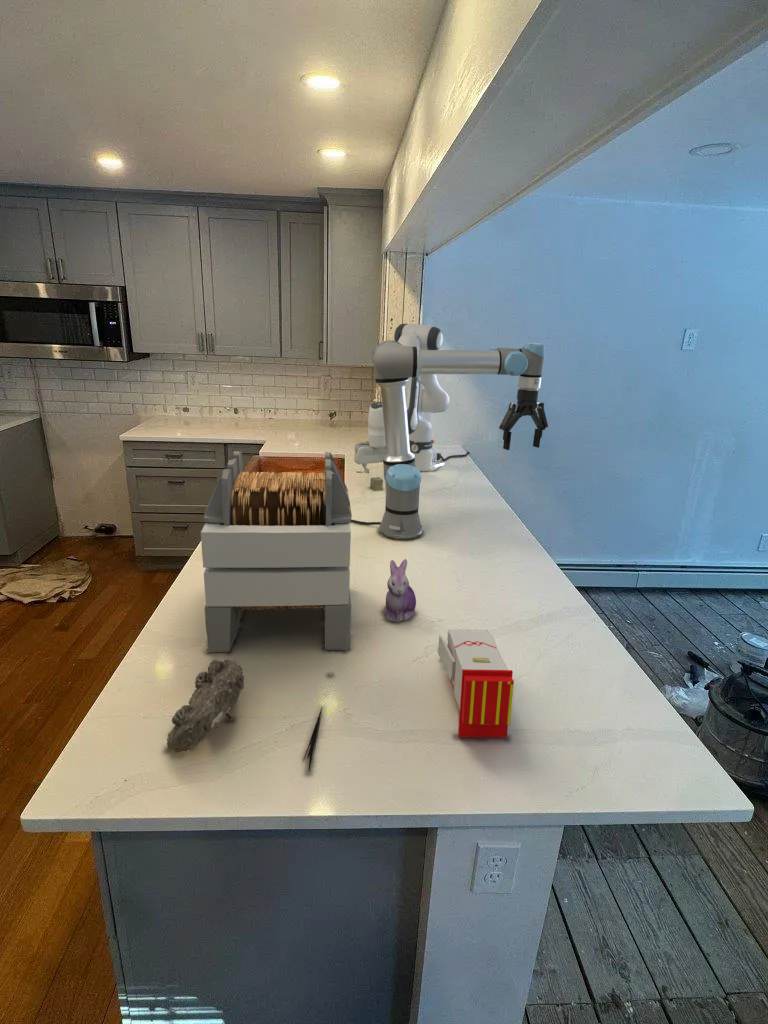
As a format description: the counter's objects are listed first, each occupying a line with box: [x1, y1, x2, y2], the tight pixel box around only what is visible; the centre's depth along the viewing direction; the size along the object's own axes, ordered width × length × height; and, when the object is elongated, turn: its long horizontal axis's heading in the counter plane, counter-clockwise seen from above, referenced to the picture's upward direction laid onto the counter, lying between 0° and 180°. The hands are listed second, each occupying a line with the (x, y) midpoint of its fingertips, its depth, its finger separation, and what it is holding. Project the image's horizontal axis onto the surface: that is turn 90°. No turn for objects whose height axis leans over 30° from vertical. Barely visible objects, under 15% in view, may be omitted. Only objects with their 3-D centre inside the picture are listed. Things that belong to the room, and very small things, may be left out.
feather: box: [301, 673, 332, 771], centre depth 108 cm, size 2×28×2 cm
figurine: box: [384, 558, 417, 623], centre depth 145 cm, size 9×10×15 cm
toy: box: [437, 628, 515, 738], centre depth 117 cm, size 12×13×30 cm
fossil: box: [166, 658, 245, 754], centre depth 106 cm, size 22×10×15 cm
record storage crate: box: [200, 450, 353, 653], centre depth 138 cm, size 34×33×41 cm
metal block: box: [369, 476, 384, 491], centre depth 248 cm, size 4×4×5 cm
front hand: (521, 448), depth 206 cm, fingers open, 13 cm apart
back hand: (376, 472), depth 246 cm, fingers open, 8 cm apart
